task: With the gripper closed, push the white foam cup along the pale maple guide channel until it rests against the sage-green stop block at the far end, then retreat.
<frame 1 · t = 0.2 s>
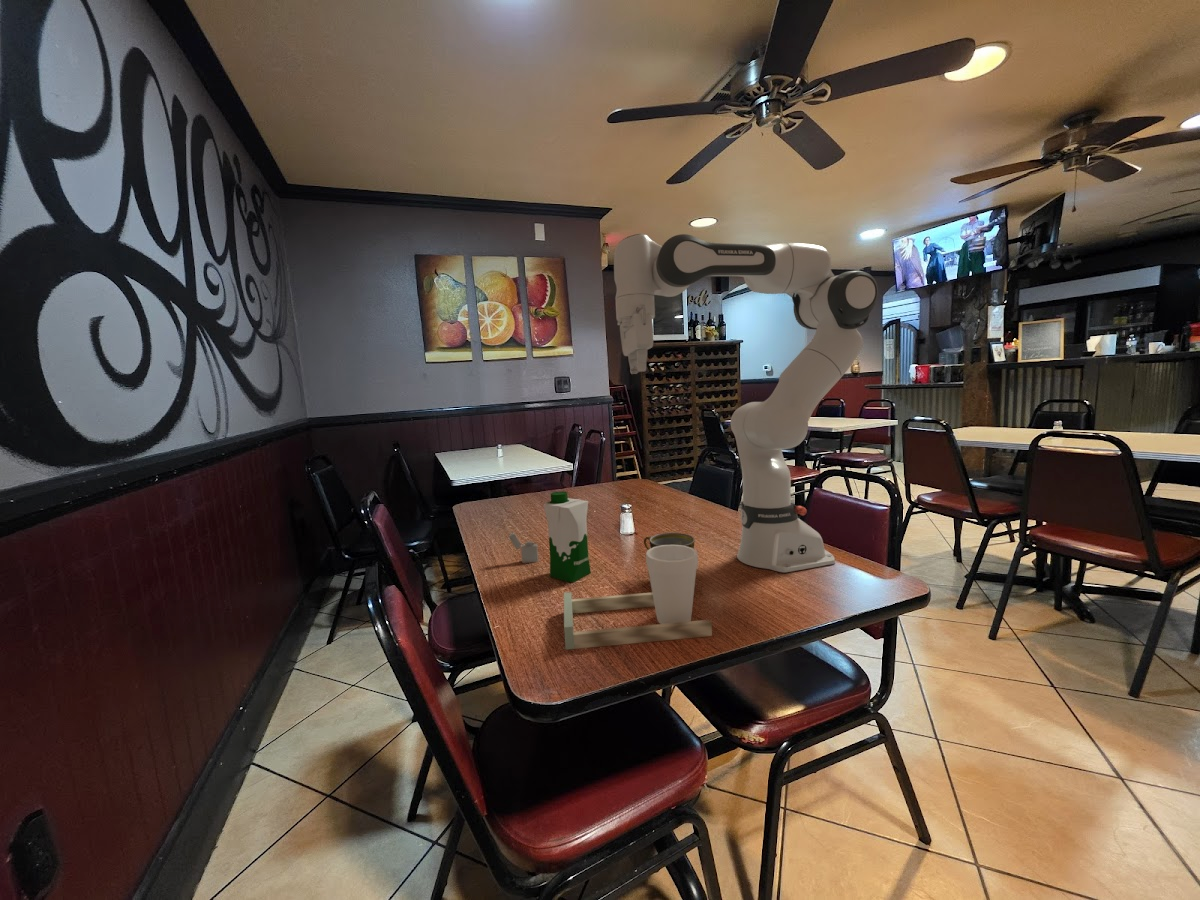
hand: (638, 372, 107), 47 cm above the table, fingers open, 8 cm apart
stop block: (569, 628, 85), on the table
lighter: (524, 562, 122), on the table
ceramic cup: (667, 581, 105), on the table
foam cup: (674, 620, 87), on the table
milk carton: (570, 575, 111), on the table
guide channel: (637, 622, 86), on the table
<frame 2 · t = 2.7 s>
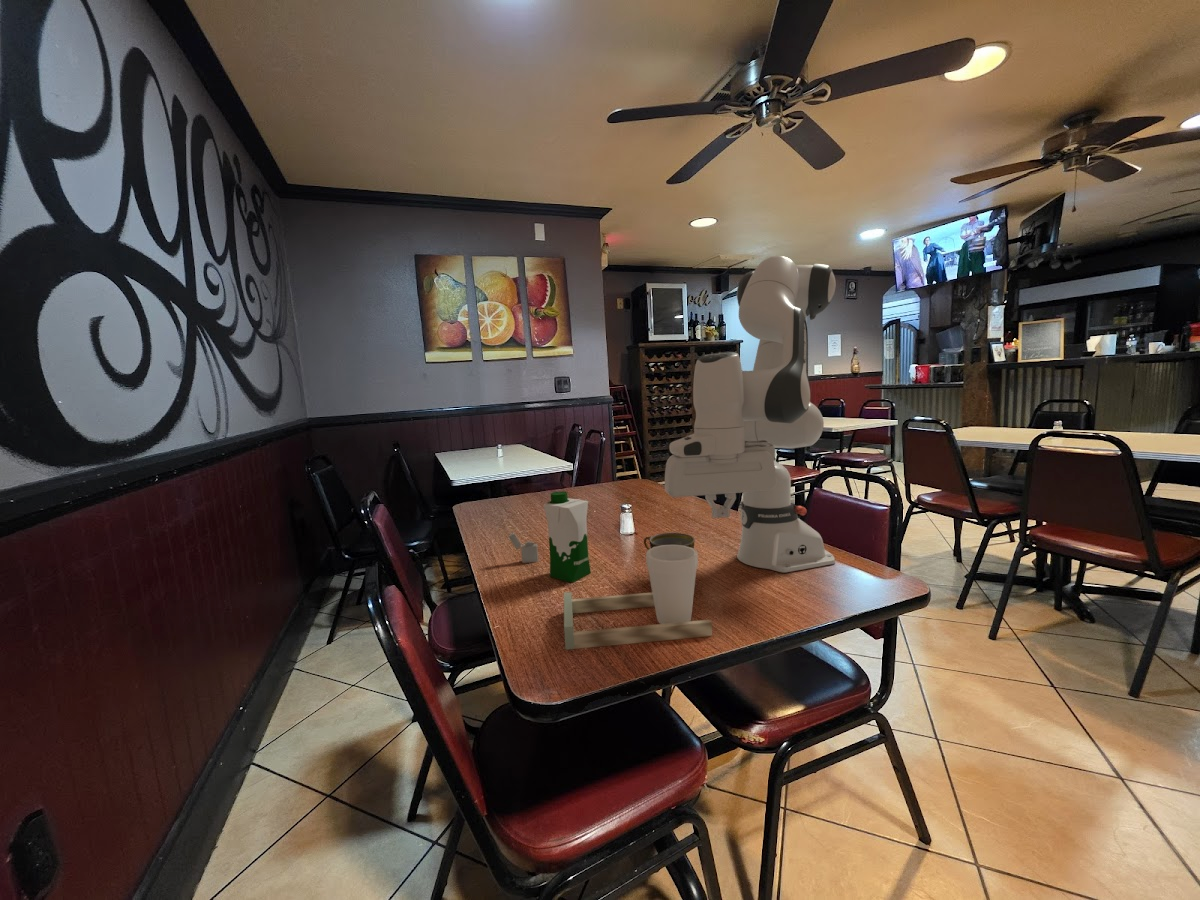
hand: (720, 516, 85), 19 cm above the table, fingers closed
nothing on the table moved.
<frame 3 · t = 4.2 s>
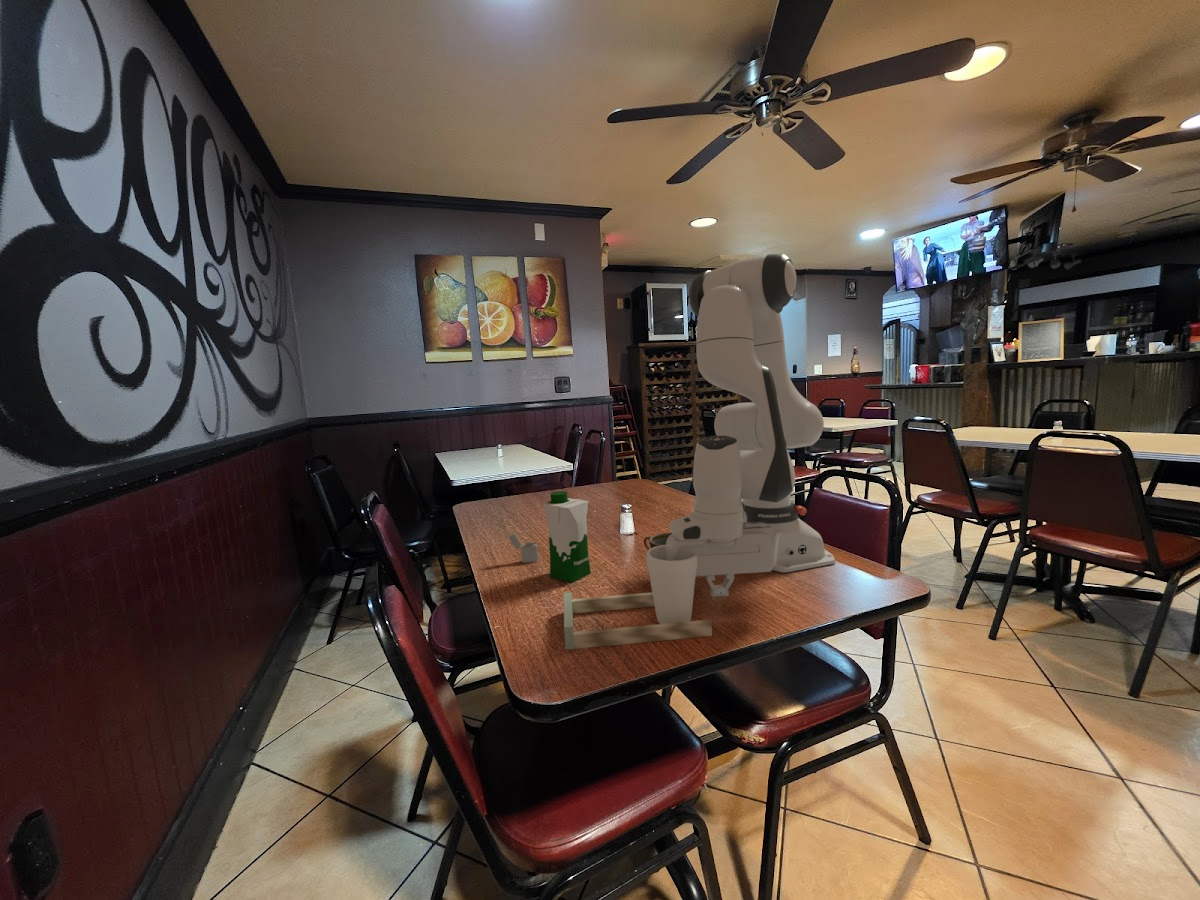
hand: (719, 595, 87), 4 cm above the table, fingers closed
nothing on the table moved.
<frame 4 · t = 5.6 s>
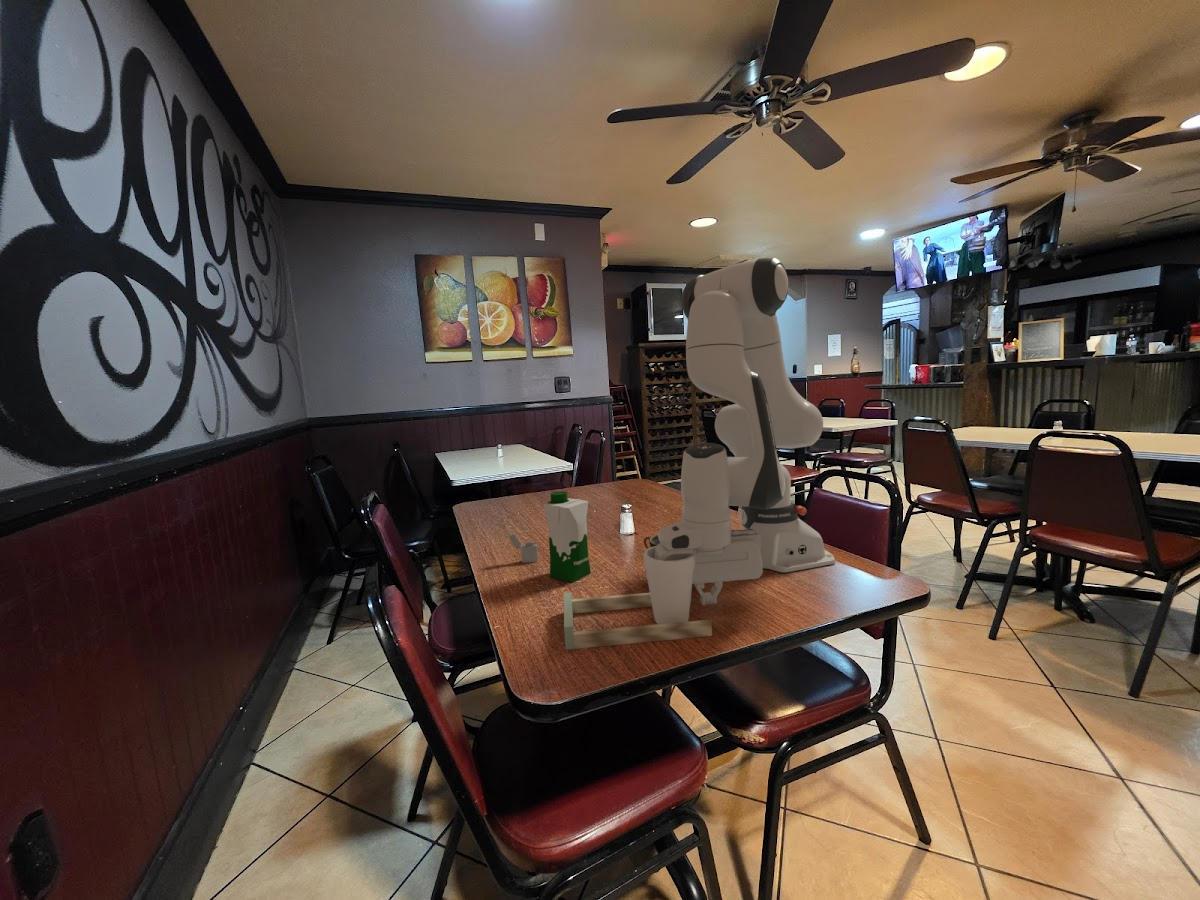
hand: (708, 603, 87), 3 cm above the table, fingers closed
foam cup: (671, 620, 87), on the table, touching gripper
everything else where it was.
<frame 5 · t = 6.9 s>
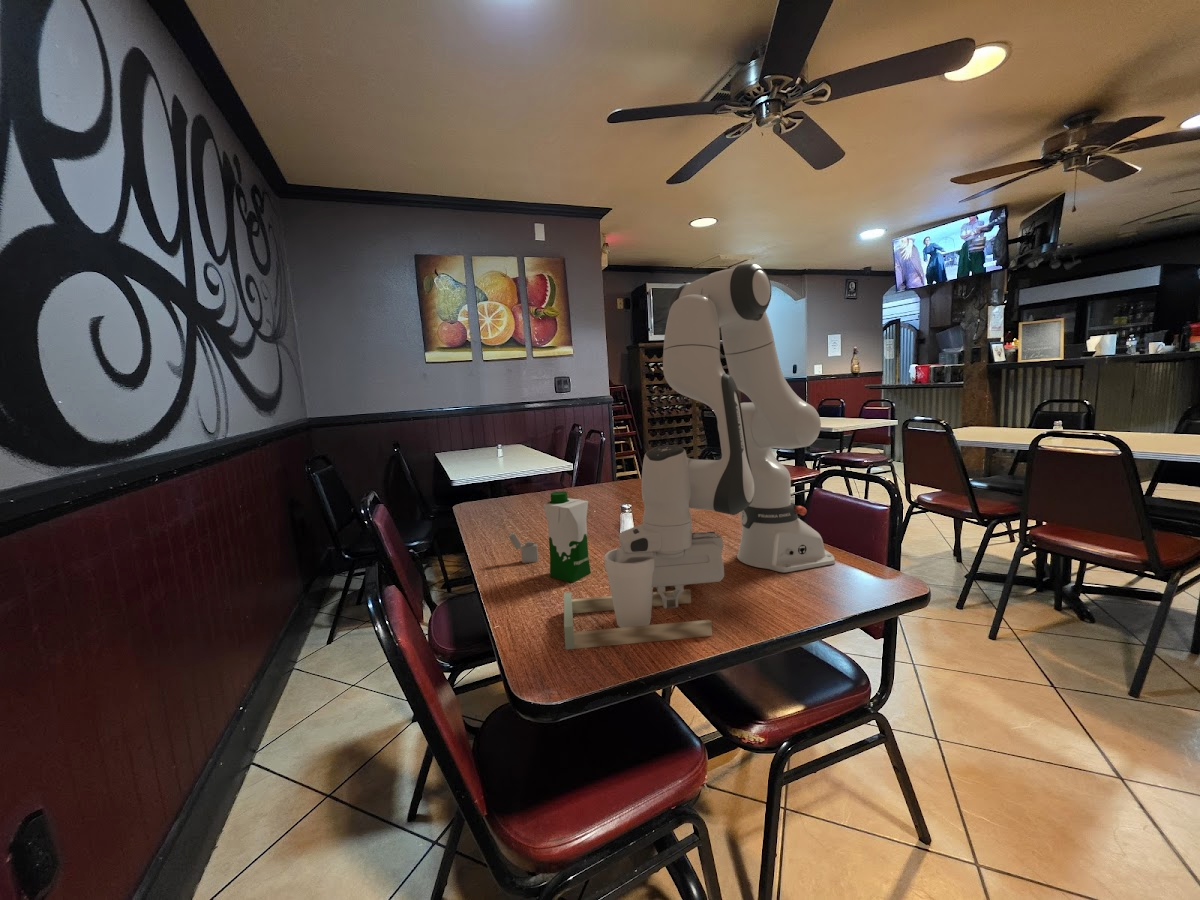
hand: (670, 606, 86), 3 cm above the table, fingers closed
foam cup: (633, 622, 86), on the table, touching gripper
everything else where it was.
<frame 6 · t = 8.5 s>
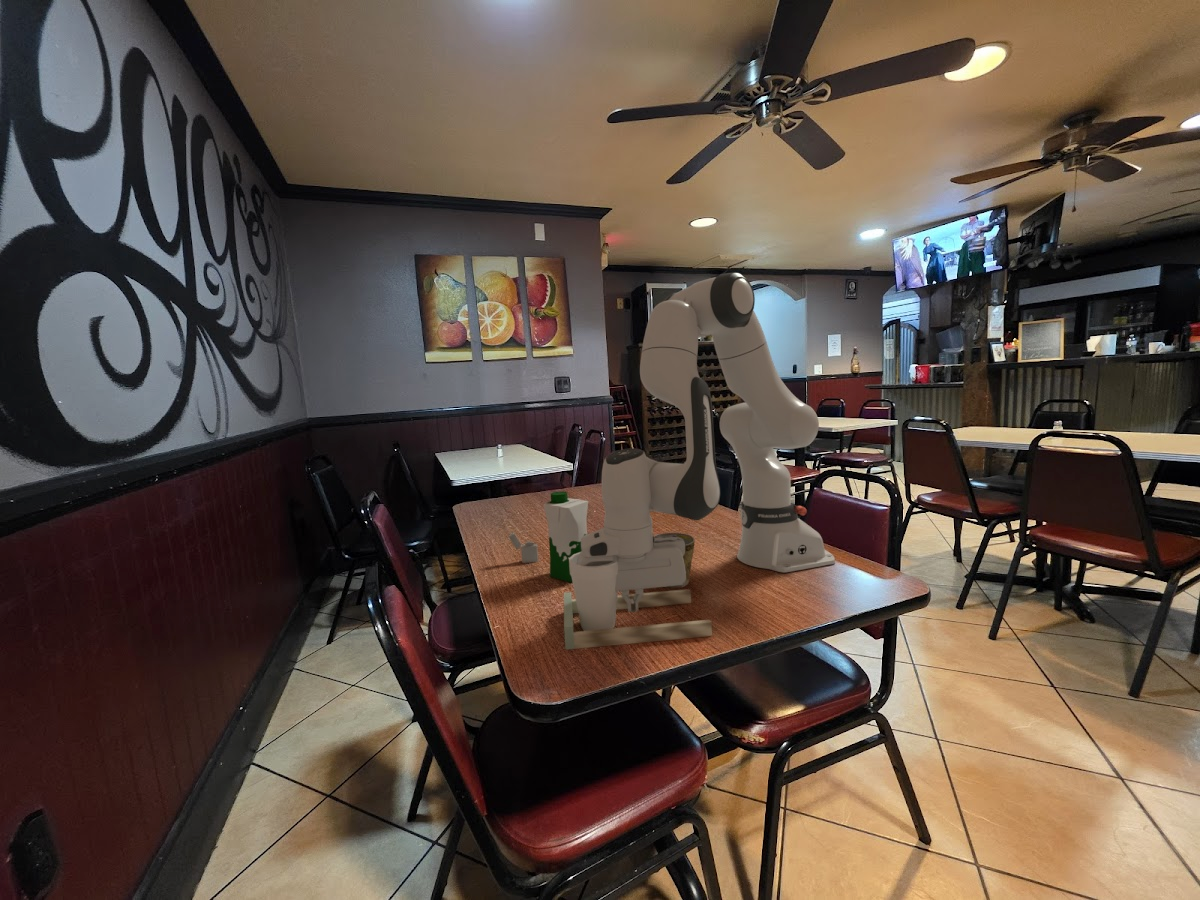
hand: (632, 610, 86), 3 cm above the table, fingers closed
foam cup: (598, 626, 86), on the table, touching gripper, stop block
everything else where it was.
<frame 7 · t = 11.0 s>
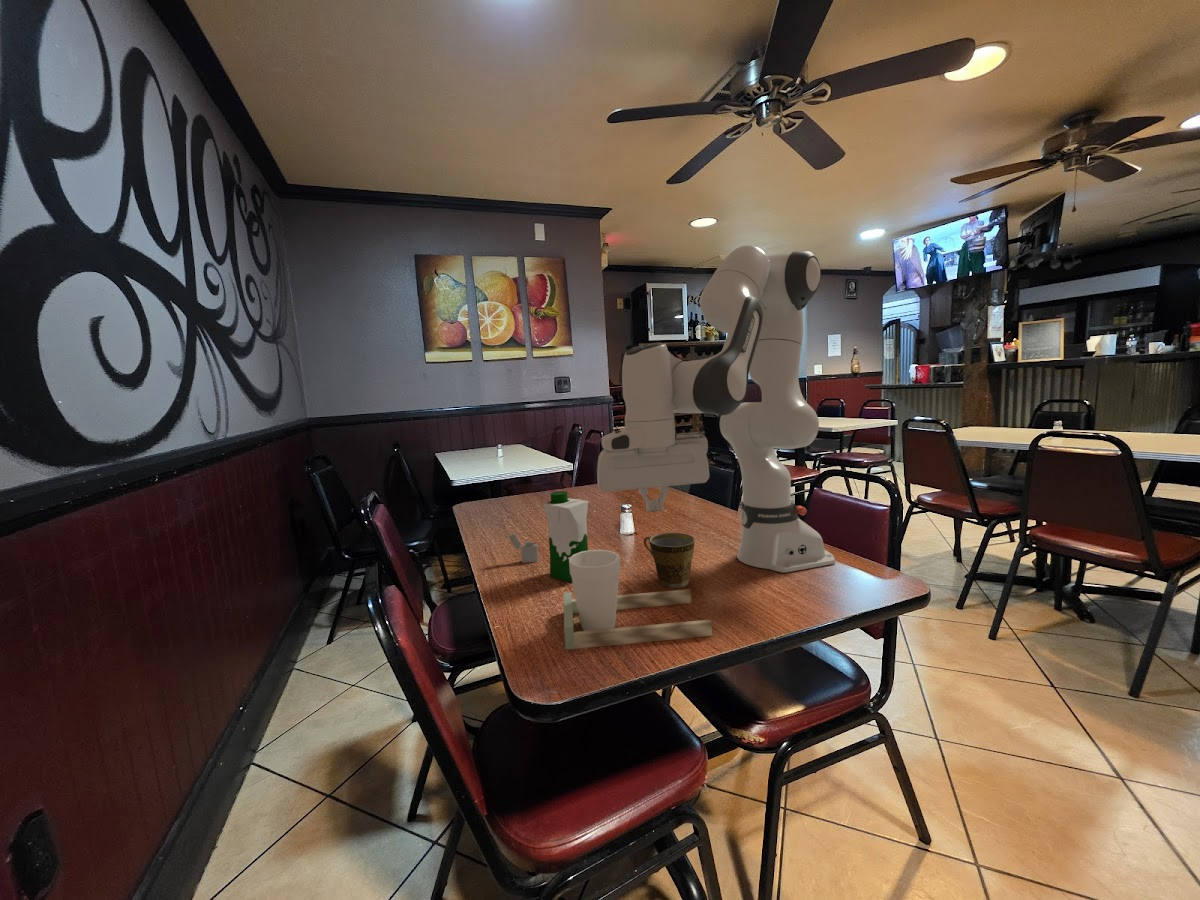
hand: (654, 510, 84), 21 cm above the table, fingers closed
foam cup: (598, 626, 86), on the table
everything else where it was.
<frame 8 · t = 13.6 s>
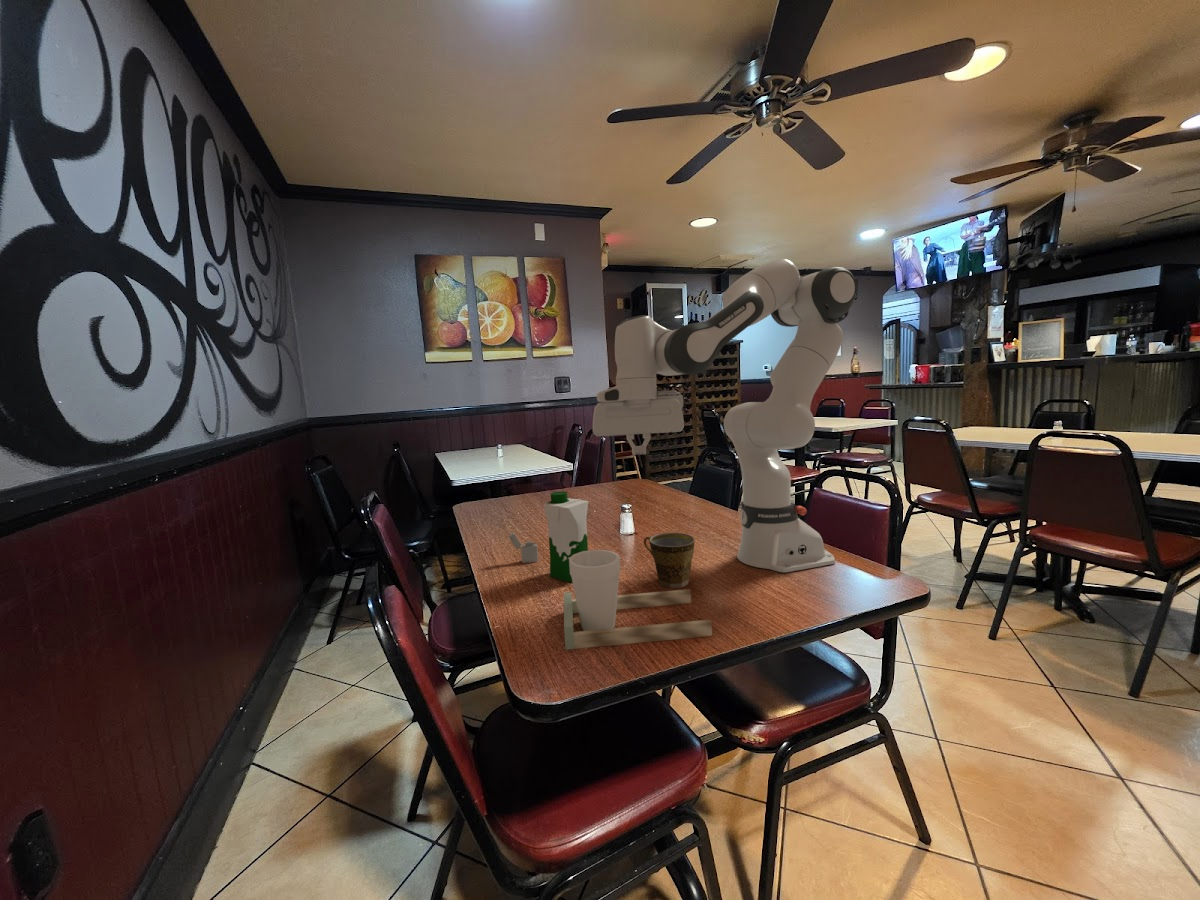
hand: (639, 454, 103), 29 cm above the table, fingers closed
nothing on the table moved.
at the end: foam cup inside the target area (0.5 cm from its centre), on the table; foam cup tilted 0°; foam cup moved 14.4 cm from its start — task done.
